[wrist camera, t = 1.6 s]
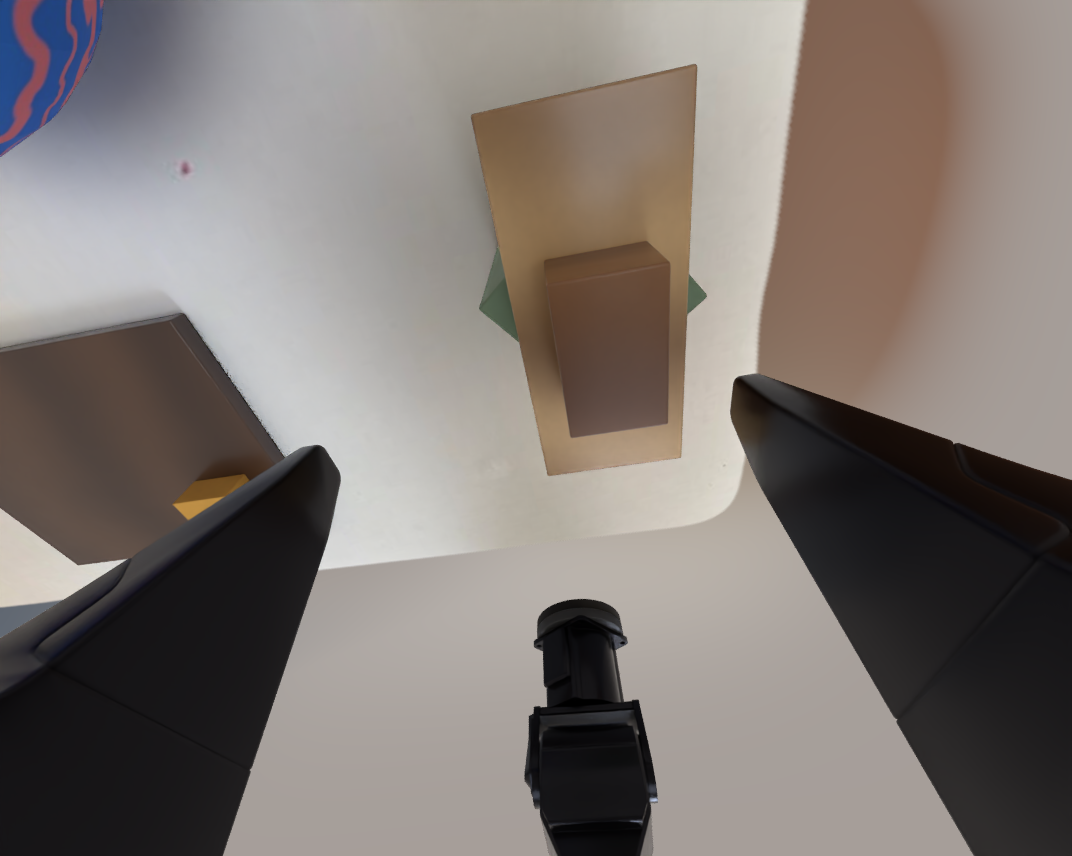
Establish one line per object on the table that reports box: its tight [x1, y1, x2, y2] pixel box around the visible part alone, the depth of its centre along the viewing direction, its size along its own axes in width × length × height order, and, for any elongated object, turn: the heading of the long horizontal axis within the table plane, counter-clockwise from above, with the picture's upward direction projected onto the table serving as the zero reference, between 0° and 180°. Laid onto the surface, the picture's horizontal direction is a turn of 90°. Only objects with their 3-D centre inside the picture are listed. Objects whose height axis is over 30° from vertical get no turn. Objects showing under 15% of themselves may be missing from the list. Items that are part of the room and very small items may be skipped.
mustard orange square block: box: [173, 474, 250, 520], centre depth 26 cm, size 4×4×2 cm
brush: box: [471, 64, 697, 476], centre depth 11 cm, size 10×4×4 cm, turn 10°
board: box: [0, 314, 284, 565], centre depth 26 cm, size 20×16×1 cm
